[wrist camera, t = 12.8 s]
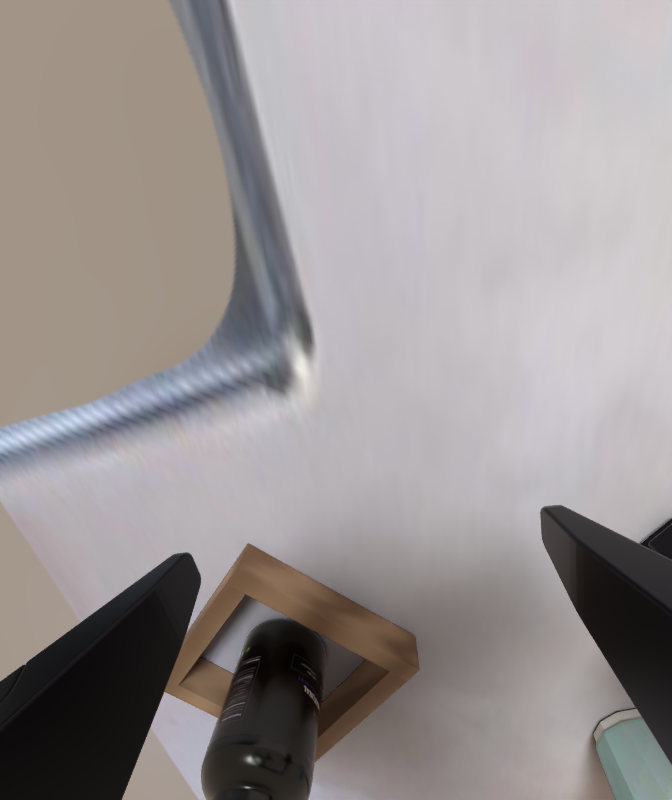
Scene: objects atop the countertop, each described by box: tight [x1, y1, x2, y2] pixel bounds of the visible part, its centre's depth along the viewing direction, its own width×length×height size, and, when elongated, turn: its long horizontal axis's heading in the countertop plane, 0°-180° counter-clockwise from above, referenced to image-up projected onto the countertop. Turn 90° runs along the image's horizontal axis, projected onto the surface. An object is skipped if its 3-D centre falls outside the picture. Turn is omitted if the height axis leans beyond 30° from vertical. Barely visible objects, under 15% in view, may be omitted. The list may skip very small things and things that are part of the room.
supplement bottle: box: [201, 619, 326, 800], centre depth 23 cm, size 7×7×12 cm
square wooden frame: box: [164, 544, 419, 763], centre depth 28 cm, size 15×15×2 cm
